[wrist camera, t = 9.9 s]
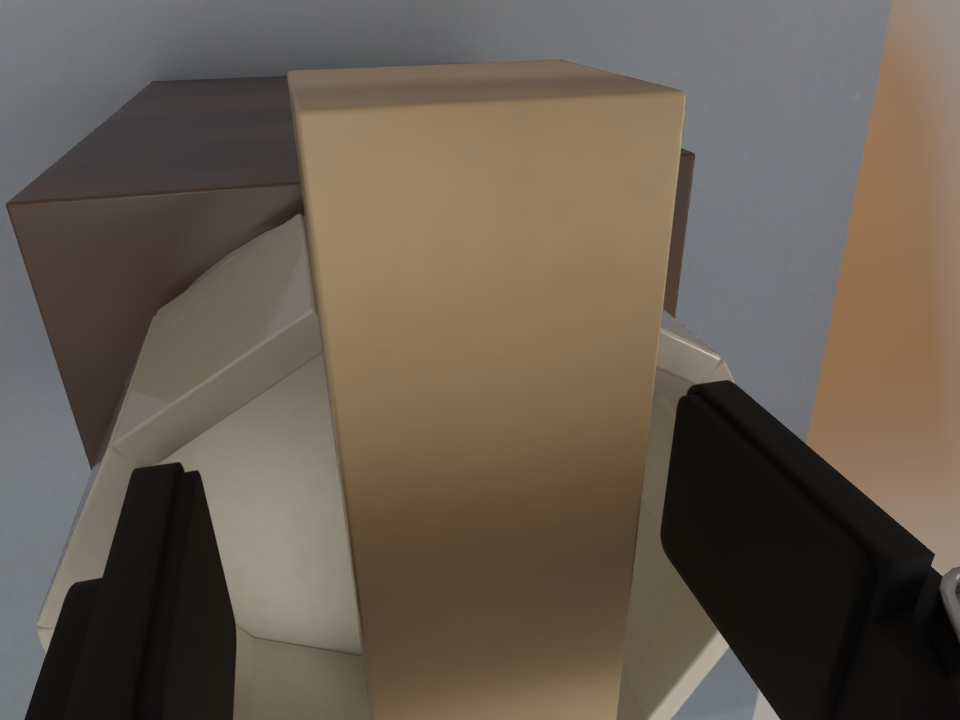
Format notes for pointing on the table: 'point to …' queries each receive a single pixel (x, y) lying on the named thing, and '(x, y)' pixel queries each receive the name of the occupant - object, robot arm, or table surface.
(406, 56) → the table surface
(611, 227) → the tan block
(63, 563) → the bowl
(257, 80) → the stand
